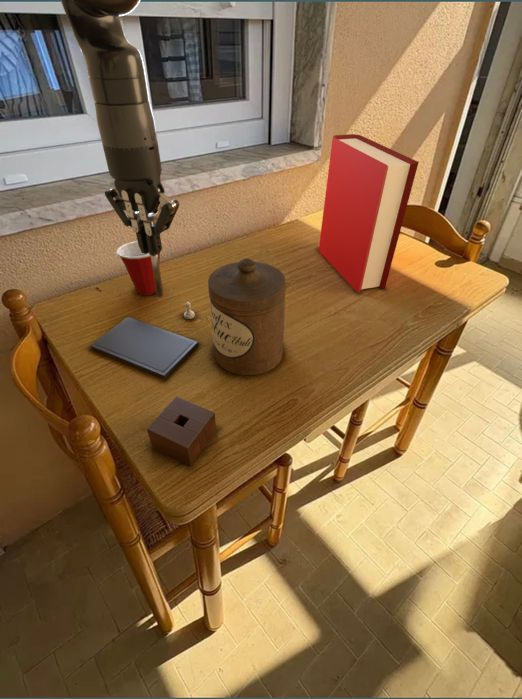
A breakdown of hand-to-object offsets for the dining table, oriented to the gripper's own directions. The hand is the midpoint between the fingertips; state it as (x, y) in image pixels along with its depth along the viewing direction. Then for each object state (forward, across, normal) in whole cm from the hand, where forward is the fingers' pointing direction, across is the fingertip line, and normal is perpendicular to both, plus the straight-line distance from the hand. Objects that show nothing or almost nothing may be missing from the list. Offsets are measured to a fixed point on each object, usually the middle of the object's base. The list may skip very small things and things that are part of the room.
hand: (151, 252), depth 65 cm
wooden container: (+25, +13, +10) cm, 30 cm away
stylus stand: (+25, +14, -15) cm, 32 cm away
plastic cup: (+25, -23, +19) cm, 39 cm away
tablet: (+25, -8, 0) cm, 26 cm away
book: (+25, +21, +57) cm, 65 cm away
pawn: (+25, -6, +14) cm, 29 cm away
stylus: (+9, 0, 0) cm, 9 cm away
